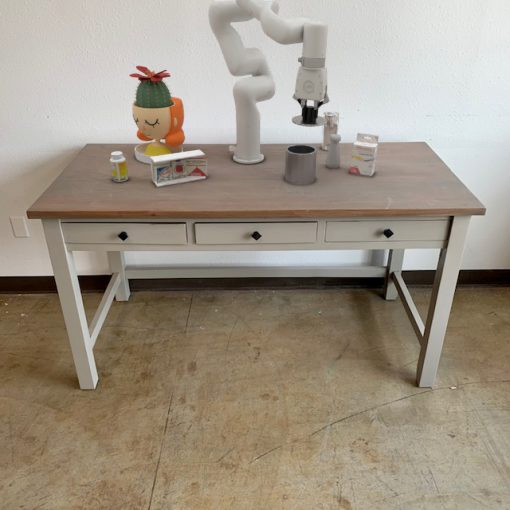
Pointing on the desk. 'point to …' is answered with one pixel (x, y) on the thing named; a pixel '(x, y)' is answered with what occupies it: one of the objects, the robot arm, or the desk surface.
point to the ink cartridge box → (364, 154)
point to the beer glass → (329, 128)
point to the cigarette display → (178, 167)
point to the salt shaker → (334, 152)
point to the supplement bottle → (118, 167)
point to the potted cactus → (157, 116)
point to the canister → (300, 163)
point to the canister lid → (309, 119)
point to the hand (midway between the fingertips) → (309, 119)
